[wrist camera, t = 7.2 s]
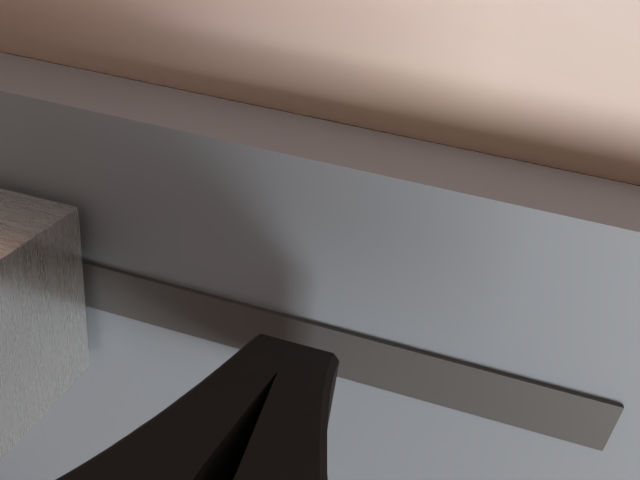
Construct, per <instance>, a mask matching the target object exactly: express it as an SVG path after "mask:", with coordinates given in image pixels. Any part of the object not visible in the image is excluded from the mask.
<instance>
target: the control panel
mask: <svg viewBox="0 0 640 480" xmlns="http://www.w3.org/2000/svg"><path fill="white" fill-rule="evenodd" d="M0 188H3V189H7V190H11V191H15V192H19V193H23V194H27V195H31V196H35V197H39V198H43V199H47V200H51V201H55V202H59V203H63V204H67V205H71V206H75V207H78V212H79V225H80V239H81V253H82V266H83V280H84V294H85V307H86V321H87V335H88V348H89V362H90V365H89V366H88V367H87V368H86V369H85V370H84V371H83V373H82V374H81V375H80V376H79V377H78V378H77V379H76V380H75V381H74V382H73V383H72V384H71V385H70V386H69V388H68V389H67V390H66V391H65V392H64V393H63V394H62V395H61V396H60V397H59V398H58V399H57V400H56V401H55V402H54V404H53V405H52V406H51V407H50V408H49V409H48V410H47V411H46V412H45V413H44V414H43V415H42V416H41V417H40V418H39V420H38V421H37V422H36V423H35V424H34V425H33V426H32V427H31V428H30V429H29V430H28V431H27V432H26V433H25V434H24V436H23V437H22V438H21V439H20V440H19V441H18V442H17V443H16V444H15V445H14V446H13V447H12V448H11V449H10V450H9V452H8V453H7V454H6V455H5V456H4V457H3V458H2V459H1V460H0V480H56V479H57V478H59V477H61V476H63V475H64V474H66V473H68V472H70V471H71V470H73V469H75V468H76V467H78V466H80V465H81V464H83V463H85V462H86V461H88V460H90V459H91V458H93V457H94V456H96V455H98V454H99V453H101V452H102V451H104V450H106V449H107V448H109V447H110V446H112V445H113V444H115V443H116V442H118V441H119V440H121V439H122V438H124V437H125V436H127V435H128V434H130V433H131V432H132V431H134V430H135V429H137V428H138V427H140V426H141V425H143V424H144V423H146V422H147V421H149V420H150V419H152V418H153V417H155V416H156V415H157V414H159V413H160V412H162V411H163V410H164V409H166V408H167V407H168V406H170V405H171V404H172V403H174V402H175V401H176V400H178V399H179V398H180V397H182V396H183V395H184V394H185V393H187V392H188V391H189V390H191V389H192V388H193V387H195V386H196V385H197V384H199V383H200V382H201V381H203V380H204V379H205V378H206V377H207V376H209V375H210V374H211V373H212V372H214V371H215V370H216V369H217V368H219V367H220V366H221V365H222V364H224V363H225V362H226V361H227V360H228V359H230V358H231V357H232V356H233V355H234V354H235V353H237V352H238V351H239V350H240V349H241V348H242V347H244V346H245V345H246V344H247V343H248V342H249V341H251V340H252V339H253V338H254V337H256V336H258V335H259V334H265V335H268V336H272V337H276V338H280V339H283V340H287V341H291V342H294V343H298V344H302V345H305V346H309V347H313V348H316V349H320V350H324V351H327V352H331V353H334V354H335V355H336V357H337V358H338V360H339V367H338V372H337V378H336V384H335V389H334V395H333V400H332V406H331V411H330V417H329V423H328V428H327V475H328V480H640V186H637V185H633V184H628V183H623V182H618V181H613V180H609V179H604V178H599V177H594V176H590V175H585V174H580V173H575V172H570V171H566V170H561V169H556V168H551V167H547V166H542V165H537V164H532V163H527V162H523V161H518V160H513V159H508V158H504V157H499V156H494V155H489V154H484V153H480V152H475V151H470V150H465V149H461V148H456V147H451V146H446V145H441V144H437V143H432V142H427V141H422V140H418V139H413V138H408V137H403V136H398V135H394V134H389V133H384V132H379V131H375V130H370V129H365V128H360V127H355V126H351V125H346V124H341V123H336V122H332V121H327V120H322V119H317V118H312V117H308V116H303V115H298V114H293V113H289V112H284V111H279V110H274V109H269V108H265V107H260V106H255V105H250V104H246V103H241V102H236V101H231V100H226V99H222V98H217V97H212V96H207V95H203V94H198V93H193V92H188V91H183V90H179V89H174V88H169V87H164V86H160V85H155V84H150V83H145V82H140V81H136V80H131V79H126V78H121V77H117V76H112V75H107V74H102V73H97V72H93V71H88V70H83V69H78V68H74V67H69V66H64V65H59V64H54V63H50V62H45V61H40V60H35V59H31V58H26V57H21V56H16V55H11V54H7V53H2V52H0Z"/></svg>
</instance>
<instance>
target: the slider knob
mask: <svg viewBox="0 0 640 480" xmlns="http://www.w3.org/2000/svg"><path fill="white" fill-rule="evenodd" d="M89 365H90V362H89V348H88V335H87V321H86V307H85V294H84V280H83V266H82V253H81V239H80V225H79V212H78V207H75V206H71V205H67V204H63V203H59V202H55V201H51V200H47V199H43V198H39V197H35V196H31V195H27V194H23V193H19V192H15V191H11V190H7V189H3V188H0V460H1V459H2V458H3V457H4V456H5V455H6V454H7V453H8V452H9V450H10V449H11V448H12V447H13V446H14V445H15V444H16V443H17V442H18V441H19V440H20V439H21V438H22V437H23V436H24V434H25V433H26V432H27V431H28V430H29V429H30V428H31V427H32V426H33V425H34V424H35V423H36V422H37V421H38V420H39V418H40V417H41V416H42V415H43V414H44V413H45V412H46V411H47V410H48V409H49V408H50V407H51V406H52V405H53V404H54V402H55V401H56V400H57V399H58V398H59V397H60V396H61V395H62V394H63V393H64V392H65V391H66V390H67V389H68V388H69V386H70V385H71V384H72V383H73V382H74V381H75V380H76V379H77V378H78V377H79V376H80V375H81V374H82V373H83V371H84V370H85V369H86V368H87V367H88V366H89Z"/></svg>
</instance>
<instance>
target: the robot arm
mask: <svg viewBox="0 0 640 480" xmlns="http://www.w3.org/2000/svg"><path fill="white" fill-rule="evenodd" d="M338 367H339V360H338V358H337V357H336V355H335V354H334V353H331V352H327V351H324V350H320V349H316V348H313V347H309V346H305V345H302V344H298V343H294V342H291V341H287V340H283V339H280V338H276V337H272V336H268V335H265V334H259V335H258V336H256V337H254V338H253V339H252V340H251V341H249V342H248V343H247V344H246V345H245V346H244V347H242V348H241V349H240V350H239V351H238V352H237V353H235V354H234V355H233V356H232V357H231V358H230V359H228V360H227V361H226V362H225V363H224V364H222V365H221V366H220V367H219V368H217V369H216V370H215V371H214V372H212V373H211V374H210V375H209V376H207V377H206V378H205V379H204V380H203V381H201V382H200V383H199V384H197V385H196V386H195V387H193V388H192V389H191V390H189V391H188V392H187V393H185V394H184V395H183V396H182V397H180V398H179V399H178V400H176V401H175V402H174V403H172V404H171V405H170V406H168V407H167V408H166V409H164V410H163V411H162V412H160V413H159V414H157V415H156V416H155V417H153V418H152V419H150V420H149V421H147V422H146V423H144V424H143V425H141V426H140V427H138V428H137V429H135V430H134V431H132V432H131V433H130V434H128V435H127V436H125V437H124V438H122V439H121V440H119V441H118V442H116V443H115V444H113V445H112V446H110V447H109V448H107V449H106V450H104V451H102V452H101V453H99V454H98V455H96V456H94V457H93V458H91V459H90V460H88V461H86V462H85V463H83V464H81V465H80V466H78V467H76V468H75V469H73V470H71V471H70V472H68V473H66V474H64V475H63V476H61V477H59V478H57V479H56V480H328V475H327V428H328V423H329V417H330V411H331V406H332V400H333V395H334V389H335V384H336V378H337V372H338Z"/></svg>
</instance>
